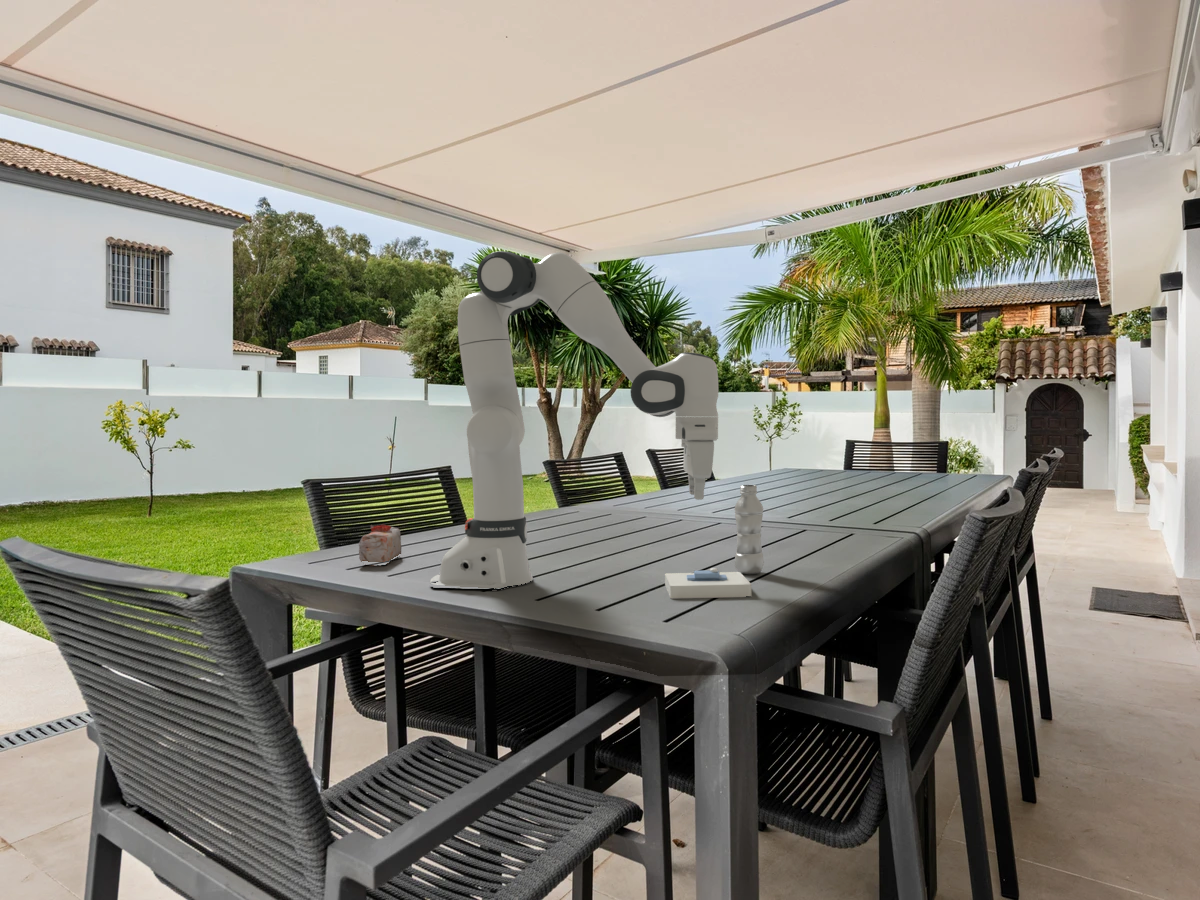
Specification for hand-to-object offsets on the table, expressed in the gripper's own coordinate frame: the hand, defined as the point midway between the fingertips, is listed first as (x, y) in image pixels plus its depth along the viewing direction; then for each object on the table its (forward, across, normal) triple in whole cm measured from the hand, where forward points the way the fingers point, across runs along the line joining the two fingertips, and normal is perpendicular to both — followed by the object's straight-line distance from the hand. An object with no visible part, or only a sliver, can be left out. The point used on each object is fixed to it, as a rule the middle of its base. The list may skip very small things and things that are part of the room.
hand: (696, 496), depth 159 cm
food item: (+21, -34, -77) cm, 87 cm away
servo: (+19, +4, +2) cm, 20 cm away
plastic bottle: (+19, -12, +14) cm, 26 cm away
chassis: (+19, +4, +2) cm, 19 cm away
